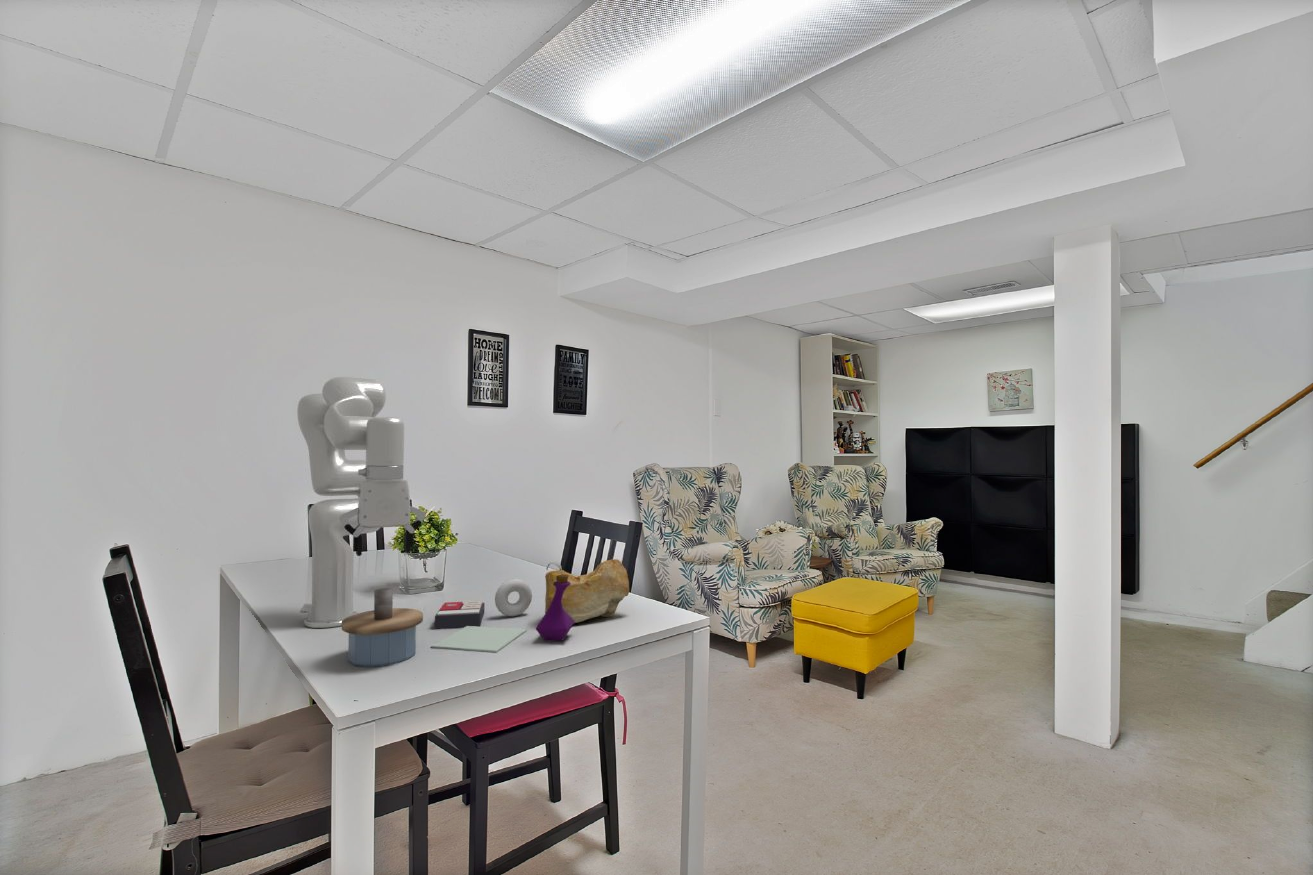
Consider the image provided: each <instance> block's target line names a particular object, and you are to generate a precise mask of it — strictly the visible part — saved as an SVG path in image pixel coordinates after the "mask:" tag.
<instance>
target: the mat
mask: <svg viewBox="0 0 1313 875" xmlns="http://www.w3.org/2000/svg"><path fill="white" fill-rule="evenodd" d="M527 631H528V630H527V629H524V628H523V629H522V628H509V627H508V628H506V627H492V626H491V627H488V626H480V627H477V626H466V627H464V628H459V630H457V631H455V632H453V633H452V634H449V635H448V636H446V637H445V638H443V639H441V640H438V642H435V643H434V644H432V645H430V648H431V649H441V650H442V649H443V650H456V651H457V650H458V651H468V652H469V651H471V652H472V651H473V652H487V653H498V652H500V651H502V649H504V648H505V647H507V646H508V645H509V644H511V643H512V642H514V641H516V640H517V639H518V638H519V637H520V636H523V634H525V633H526V632H527Z"/></svg>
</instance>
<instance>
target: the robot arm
mask: <svg viewBox="0 0 1313 875" xmlns="http://www.w3.org/2000/svg"><path fill="white" fill-rule="evenodd" d="M321 391H322V393H310V394H307V395H305V396H303V397H301V398H300V400H299V401H298V404H297V411H296V412H297V420H298V426H299V429H300V432H301V434H302V437H303V438H304V440H305V442H306V445H307V449H308V458H309V468H310V478H311V484H312V489H313V491H314V493H315V494H317V495H318V496H324V497H338V496H357V497H358V498H356V497H355V498H337V499H336V498H335V499H324V500H320V501H317V502H315V503H314V504H312V505H311V507H310V508H309V511H308V517H307V519H308V526H309V531H310V538H311V603H304V604H303V605H302V607H300V609H299V611H300V613H303V614H307V617H306V618H305V619H304V620H303V622H304V626H306V627H308V628H315V629H316V628H317V629H323V628H327V629H328V628H334V627H340V626H341V627H342V621H343V620H344V619H345V618H347V617H349V616H352V615H355V614H358V613H359V612H357V611H354V561H355V560H354V553H355V554H356V556H358V557H360V556H362V553H363V537H362V536H361V535H362V534H371V533H375V532H377V531H378V530H380V529H381V528H394V527H395V528H397V527H403V529H405V532H404V533H403V550H404V552H407V553H410V552H411V548H412V547H413V542H414V541H413V540H414V539H413V537H414V533H415V531H417V529H418V528H419V527H420V526H421V525H422V523H423V521H424V520H425V517H426V516H427V513H426V512H425V511H423V510H421V509H419V508H416V507H414V506H412V505H411V497H410V488H409V482H408V479H404V463H405V462H404V459H405V458H404V457H405V456H404V451H405V423H404V421H403V419H401V418H398V417H389V416H388V417H385V416H378V414H379V413H380V412H381V411H382V410H383V409H384V406H385V404H386V400H387V398H386V397H387V395H386V390H385V388H384V386H383V384H382V383H381V382H380V381H379V380H376V379H372V378H361V377H357V378H356V377H349V376H338V377H333V378H330V379H329V380H327V381H326V382H325V383H324V385H323V387H322V390H321ZM345 451H365V460H364V459H363V460H361V459H360V460H359V459H358V460H357V459H347V456H346V452H345ZM411 514H413V515H414V514H415V515H417V516H416V518H415V520H414V521H413V522H412V523H410V522H411ZM350 535H351V536H352V547H351V545H350V544H349V543H348V542H347V541H346V540H345V539H344V537H345V536H350Z"/></svg>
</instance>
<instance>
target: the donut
mask: <svg viewBox="0 0 1313 875" xmlns="http://www.w3.org/2000/svg"><path fill="white" fill-rule="evenodd" d="M513 592H516V593H518V594H519V599H518V600H517V601H516V602H515V603H511V602H510V601H509V600H508V599H509V596H510V594H511V593H513ZM494 595H495V596H494V603H495V607H496V609H497V611H498V612H500V614H502V615H504V616H506V617H516V616H517V617H518V616H520V615H522V614H523V613H525V612H526V611H527V610H528V609H529V607H530V605H531V603H532V598H533V592H532V589H531V587H530V585H529V584H528V583H527V582H526V581H525V580H523V579H519V578H512V579H507V580H506V581H504V582H502V583H501V585H499V587H498V588H497V590H496V592H495V594H494Z"/></svg>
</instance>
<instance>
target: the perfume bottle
mask: <svg viewBox="0 0 1313 875" xmlns="http://www.w3.org/2000/svg"><path fill="white" fill-rule="evenodd" d="M551 564H552V565H555V566H557V568H558V569H559V570H561V571H562V570H563V569H562V565H561V564H560V563H559V562H558V561H551V562H548V564H547V566H546V571H549V570H548V569H549V567H550V566H551ZM568 577H569V575H567V574H563V572H562V575H558V576H557V577H556V580H557V581H556V582H554V584H553V585H554V586H555V587H556V592H555V595H554V598H553V600H552V602H551V604H550V607H549V608H548V610H547V612H546V613H545V612H544V613H545V614H544V615H543V617H541V620H540V621H539V623H538V624H537V626H536V627H535V630H536V632H537V633H538V634H539V635H540V636H541V638H542V640H544V642H563V641H562V640H565V638H566V637H567V635H568V634H569V632H570V630H571V629H572V627H573V626H574V624H575V623H574V620H573V619H572V618H571V617H570V616H569V615H568V614H567V613H566V611H565V610H564V609H563V607H562V596H563V593H564V591H565V589H566V588H567V586H570V582H568Z"/></svg>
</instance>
